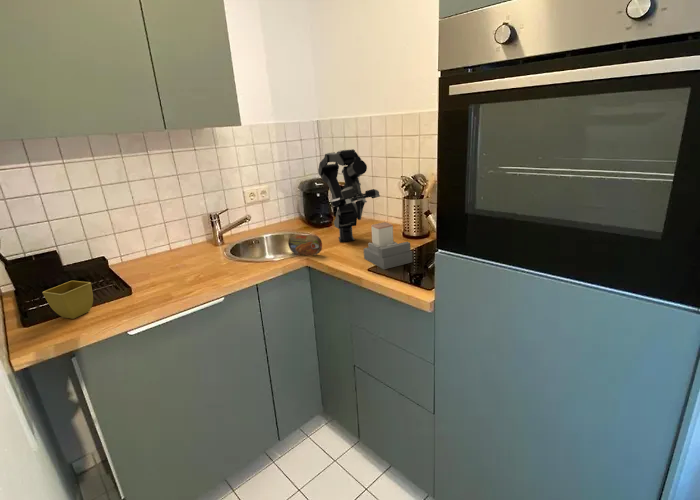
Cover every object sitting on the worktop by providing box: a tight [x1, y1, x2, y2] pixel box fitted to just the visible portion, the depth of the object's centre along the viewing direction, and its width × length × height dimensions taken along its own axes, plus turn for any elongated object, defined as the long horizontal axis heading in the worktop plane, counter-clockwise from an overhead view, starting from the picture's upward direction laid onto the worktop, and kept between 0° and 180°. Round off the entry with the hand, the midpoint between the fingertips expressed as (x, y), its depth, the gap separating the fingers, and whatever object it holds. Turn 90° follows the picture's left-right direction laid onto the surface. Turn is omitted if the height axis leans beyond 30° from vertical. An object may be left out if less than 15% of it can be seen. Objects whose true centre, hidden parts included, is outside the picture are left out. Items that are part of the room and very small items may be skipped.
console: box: [363, 240, 413, 270], centre depth 137 cm, size 14×12×7 cm
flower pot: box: [42, 280, 94, 319], centre depth 110 cm, size 9×9×9 cm
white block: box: [370, 221, 394, 248], centre depth 138 cm, size 5×6×9 cm
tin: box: [287, 233, 323, 256], centre depth 151 cm, size 15×3×8 cm, turn 62°
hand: (359, 219), depth 149 cm, fingers closed
